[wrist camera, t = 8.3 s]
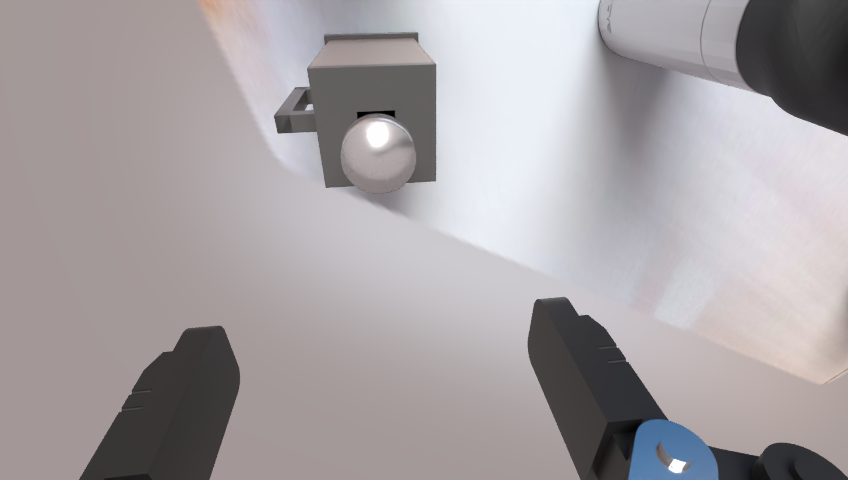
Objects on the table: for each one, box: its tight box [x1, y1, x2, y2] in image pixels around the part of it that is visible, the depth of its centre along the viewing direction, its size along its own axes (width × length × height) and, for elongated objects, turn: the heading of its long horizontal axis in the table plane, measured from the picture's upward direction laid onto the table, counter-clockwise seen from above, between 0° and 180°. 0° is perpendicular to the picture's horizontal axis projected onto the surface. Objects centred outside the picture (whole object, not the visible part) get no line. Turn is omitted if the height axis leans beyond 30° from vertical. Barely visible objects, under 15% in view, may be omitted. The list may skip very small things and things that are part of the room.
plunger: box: [341, 110, 416, 194], centre depth 29 cm, size 6×6×17 cm
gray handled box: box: [274, 32, 436, 188], centre depth 32 cm, size 11×8×16 cm
